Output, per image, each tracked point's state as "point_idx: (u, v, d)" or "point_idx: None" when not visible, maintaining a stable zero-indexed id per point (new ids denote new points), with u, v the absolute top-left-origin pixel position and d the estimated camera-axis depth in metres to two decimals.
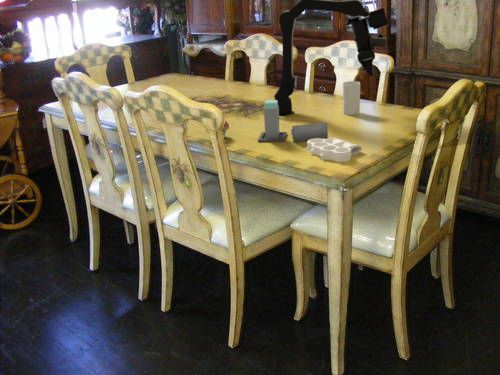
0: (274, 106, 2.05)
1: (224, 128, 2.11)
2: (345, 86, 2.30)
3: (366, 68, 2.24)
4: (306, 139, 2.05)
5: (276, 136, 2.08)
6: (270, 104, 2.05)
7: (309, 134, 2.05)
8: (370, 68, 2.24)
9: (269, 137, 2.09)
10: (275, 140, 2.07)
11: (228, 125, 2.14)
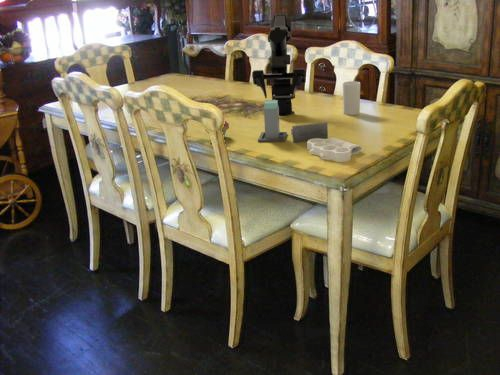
0: (274, 106, 2.05)
1: (224, 128, 2.11)
2: (345, 86, 2.30)
3: None
4: (306, 139, 2.05)
5: (276, 136, 2.08)
6: (270, 104, 2.05)
7: (309, 134, 2.05)
8: (262, 90, 2.12)
9: (269, 137, 2.09)
10: (275, 140, 2.07)
11: (228, 125, 2.14)
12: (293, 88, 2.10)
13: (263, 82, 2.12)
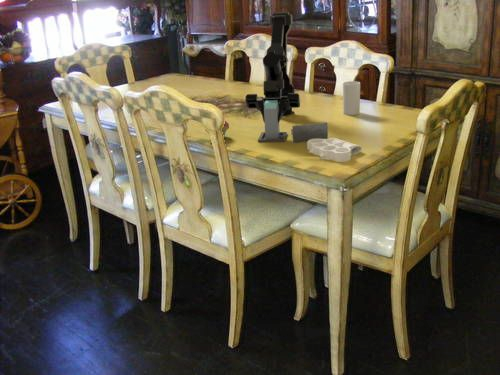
0: (274, 106, 2.05)
1: (224, 128, 2.11)
2: (345, 86, 2.30)
3: None
4: (306, 139, 2.05)
5: (276, 136, 2.08)
6: (270, 104, 2.05)
7: (309, 134, 2.05)
8: None
9: (269, 137, 2.09)
10: (275, 140, 2.07)
11: (228, 125, 2.14)
12: (279, 113, 2.07)
13: (262, 106, 2.09)
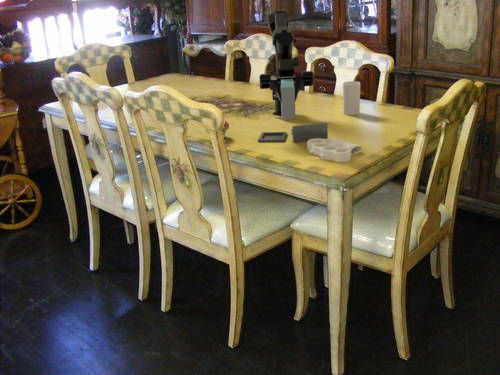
0: (291, 85, 2.03)
1: (224, 128, 2.11)
2: (345, 86, 2.30)
3: (277, 94, 2.08)
4: (306, 139, 2.05)
5: (293, 115, 2.07)
6: (287, 83, 2.03)
7: (309, 134, 2.05)
8: (277, 93, 2.07)
9: (286, 116, 2.07)
10: (275, 140, 2.07)
11: (228, 125, 2.14)
12: (296, 91, 2.06)
13: (277, 85, 2.07)
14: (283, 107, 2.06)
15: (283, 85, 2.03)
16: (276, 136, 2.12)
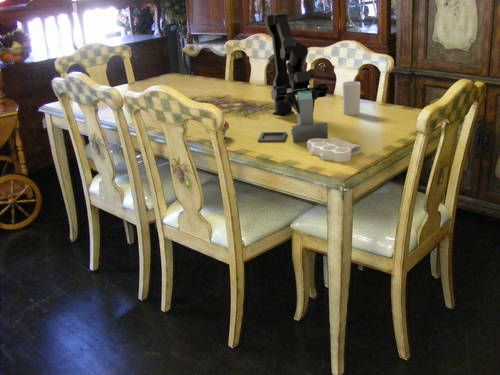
0: (310, 96, 2.05)
1: (224, 128, 2.11)
2: (345, 86, 2.30)
3: (293, 106, 2.09)
4: (306, 139, 2.05)
5: None
6: (306, 94, 2.04)
7: (309, 134, 2.05)
8: (294, 105, 2.07)
9: None
10: (275, 140, 2.07)
11: (228, 125, 2.14)
12: (313, 103, 2.08)
13: (294, 98, 2.07)
14: (302, 119, 2.07)
15: (302, 97, 2.04)
16: (276, 136, 2.12)
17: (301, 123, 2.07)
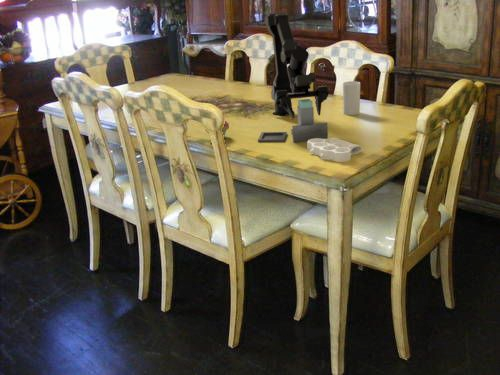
0: (310, 105, 2.05)
1: (224, 128, 2.11)
2: (345, 86, 2.30)
3: (287, 111, 2.08)
4: (306, 139, 2.05)
5: None
6: (307, 103, 2.05)
7: (309, 134, 2.05)
8: (288, 110, 2.07)
9: None
10: (275, 140, 2.07)
11: (228, 125, 2.14)
12: (319, 106, 2.08)
13: (289, 102, 2.07)
14: None
15: (302, 105, 2.05)
16: (276, 136, 2.12)
17: None
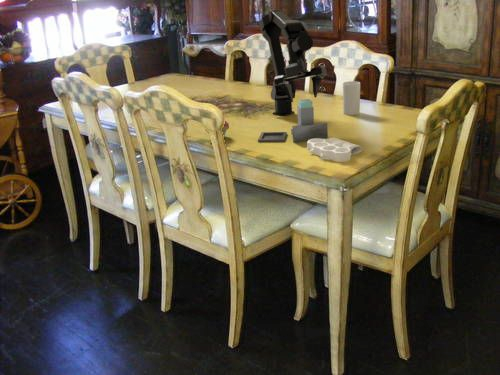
0: (310, 105, 2.05)
1: (224, 128, 2.11)
2: (345, 86, 2.30)
3: None
4: (306, 139, 2.05)
5: None
6: (307, 103, 2.05)
7: (309, 134, 2.05)
8: None
9: None
10: (275, 140, 2.07)
11: (228, 125, 2.14)
12: (314, 89, 2.15)
13: (286, 88, 2.19)
14: None
15: (302, 106, 2.05)
16: (276, 136, 2.12)
17: None
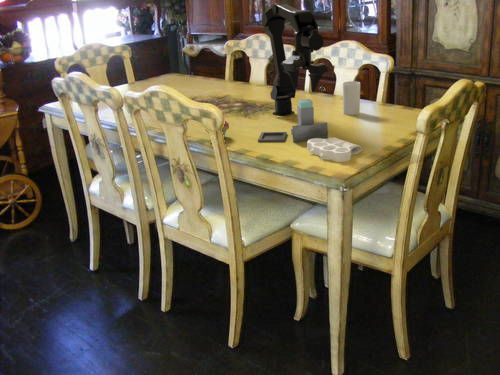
0: (310, 105, 2.05)
1: (224, 128, 2.11)
2: (345, 86, 2.30)
3: None
4: (306, 139, 2.05)
5: None
6: (307, 103, 2.05)
7: (309, 134, 2.05)
8: None
9: None
10: (275, 140, 2.07)
11: (228, 125, 2.14)
12: (312, 85, 2.16)
13: (290, 75, 2.22)
14: None
15: (302, 105, 2.05)
16: (276, 136, 2.12)
17: None
